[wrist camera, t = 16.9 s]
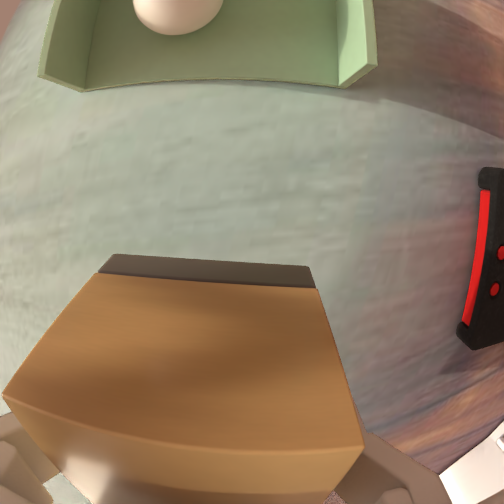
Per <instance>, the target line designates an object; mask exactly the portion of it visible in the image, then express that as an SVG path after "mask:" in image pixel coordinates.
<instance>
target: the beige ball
mask: <svg viewBox="0 0 504 504" xmlns="http://www.w3.org/2000/svg"><path fill="white" fill-rule="evenodd" d="M222 4H223V0H133V6H134V10H135V13H136V15H137V17H138V19H139V20H140V21H141V22H142V23H143V24H144V25H145V26H146V27H148V28H149V29H151V30H153V31H155V32H157V33H160V34H165V35H182V34H187V33H190V32H193V31H196V30H198V29H200V28H202V27H204V26H205V25H206V24H208V23H209V22H210V21H211V20H212V19H213V18H214V17H215V16H216V15H217V13H218V12H219V10H220V8H221V6H222Z"/></svg>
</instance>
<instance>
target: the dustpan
mask: <svg viewBox="0 0 504 504" xmlns="http://www.w3.org/2000/svg"><path fill="white" fill-rule="evenodd" d="M377 66H378V56H377V40H376V28H375V17H374V8H373V0H223V4H222V6H221V8H220V10H219V12H218V13H217V15H216V16H215V17H214V18H213V19H212V20H211V21H210V22H209V23H208V24H206V25H205V26H204V27H202V28H200V29H198V30H196V31H193V32H190V33H187V34H182V35H165V34H160V33H157V32H155V31H153V30H151V29H149V28H148V27H146V26H145V25H144V24H143V23H142V22H141V21H140V20H139V19H138V17H137V15H136V13H135V10H134V6H133V0H54V3H53V7H52V10H51V13H50V17H49V21H48V25H47V28H46V32H45V37H44V41H43V46H42V50H41V55H40V61H39V66H38V72H37V77H40V78H43V79H46V80H48V81H51V82H54V83H57V84H60V85H62V86H65V87H68V88H71V89H73V90H76V91H78V92H86V91H91V90H97V89H103V88H110V87H117V86H124V85H132V84H141V83H151V82H164V81H179V80H207V79H235V80H263V81H279V82H291V83H302V84H311V85H319V86H327V87H334V88H341V89H346V88H347V87H349V86H350V85H351V84H353V83H354V82H356V81H357V80H358V79H360V78H361V77H363V76H364V75H366V74H367V73H368V72H370V71H371V70H373V69H374V68H376V67H377Z"/></svg>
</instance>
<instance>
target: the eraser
mask: <svg viewBox="0 0 504 504" xmlns="http://www.w3.org/2000/svg"><path fill="white" fill-rule="evenodd" d="M2 397H3V399H4V400H5V402H6V403H7V405H8V406H9V408H10V409H11V411H12V412H13V414H14V415H15V417H16V418H17V419H18V421H19V422H20V424H21V425H22V426H23V428H24V429H25V430H26V432H27V433H28V434H29V436H30V437H31V438H32V439H33V441H34V442H35V443H36V444H37V446H38V447H39V448H40V449H41V450H42V452H43V453H44V454H45V455H46V456H47V457H48V459H49V460H50V461H51V462H52V463H53V464H54V465H55V467H56V468H57V469H58V470H59V471H60V472H61V473H62V474H63V475H64V476H65V477H66V478H67V479H68V480H69V481H70V482H71V483H72V484H73V485H74V486H75V487H76V488H77V489H78V490H79V491H80V492H81V493H82V494H83V495H84V496H85V497H86V498H87V499H88V500H89V501H90V502H92V503H93V504H322V503H323V502H324V501H325V500H326V498H327V497H328V496H329V495H330V494H331V492H332V491H333V490H334V489H335V488H336V486H337V485H338V484H339V483H340V481H341V480H342V479H343V477H344V476H345V475H346V474H347V472H348V471H349V470H350V468H351V467H352V466H353V464H354V463H355V461H356V460H357V459H358V457H359V456H360V454H361V453H362V452H363V450H364V449H365V442H364V439H363V435H362V431H361V428H360V424H359V420H358V417H357V413H356V410H355V406H354V403H353V399H352V396H351V392H350V389H349V386H348V382H347V379H346V376H345V372H344V369H343V366H342V363H341V359H340V356H339V353H338V350H337V347H336V343H335V340H334V337H333V334H332V331H331V328H330V325H329V322H328V319H327V316H326V313H325V310H324V307H323V304H322V301H321V298H320V295H319V292H318V289H316V286H315V283H314V280H313V277H312V274H311V272H310V269H309V267H307V266H299V265H281V264H264V263H248V262H232V261H216V260H200V259H185V258H170V257H156V256H142V255H127V254H113V255H112V256H111V257H110V258H109V259H108V261H107V262H106V263H105V264H104V265H103V266H102V267H101V268H100V269H99V270H98V273H95V274H94V275H93V276H92V277H91V278H90V279H89V280H88V281H87V283H86V284H85V285H84V286H83V287H82V288H81V290H80V291H79V292H78V293H77V294H76V295H75V297H74V298H73V299H72V300H71V301H70V303H69V304H68V305H67V306H66V307H65V309H64V310H63V311H62V312H61V313H60V315H59V316H58V317H57V318H56V320H55V321H54V322H53V323H52V325H51V326H50V327H49V328H48V330H47V331H46V332H45V334H44V335H43V336H42V337H41V339H40V340H39V341H38V343H37V344H36V345H35V347H34V348H33V349H32V351H31V352H30V353H29V355H28V356H27V357H26V359H25V360H24V362H23V363H22V364H21V366H20V367H19V369H18V370H17V371H16V373H15V374H14V376H13V377H12V379H11V380H10V382H9V383H8V385H7V386H6V388H5V389H4V391H3V392H2Z"/></svg>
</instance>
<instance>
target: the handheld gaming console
mask: <svg viewBox="0 0 504 504" xmlns="http://www.w3.org/2000/svg"><path fill="white" fill-rule="evenodd" d="M478 185H479V187H480V188H483V189H489V190H481V193H480V209H479V221H478V231H477V240H476V248H475V255H474V262H473V268H472V274H471V279H470V285H469V290H468V294H467V299H466V304H465V308H464V312H463V316H462V322H460V323H459V324H458V327H457V332H456V334H457V337H459V338H460V339H461V340H462V341H463V342H464V343H465V344H466V345H467V346H468V347H469V348H470V349H471V350H478V349H481V348H484V347H488V346H491V345H494V344H497V343H500V342H503V341H504V169H502V168H493V167H484V168H482V169H481V171H480V173H479V178H478Z"/></svg>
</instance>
